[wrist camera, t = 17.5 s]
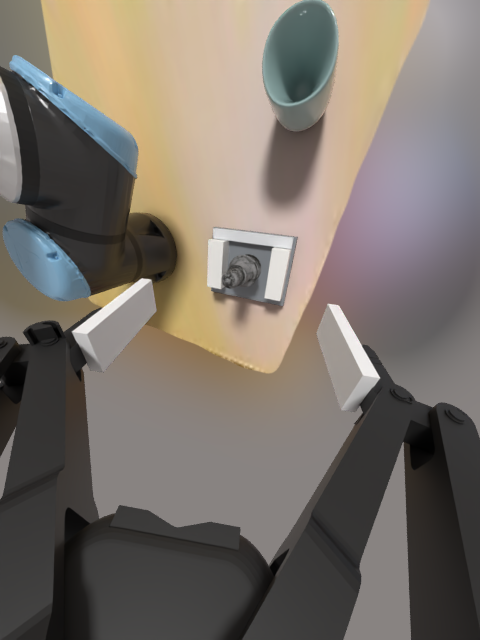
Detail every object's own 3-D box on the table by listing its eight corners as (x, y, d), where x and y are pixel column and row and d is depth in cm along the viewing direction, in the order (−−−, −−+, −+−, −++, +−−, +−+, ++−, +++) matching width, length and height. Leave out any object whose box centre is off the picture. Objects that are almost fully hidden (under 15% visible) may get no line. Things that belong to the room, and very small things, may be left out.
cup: (331, 131, 30) (337, 93, 21) (277, 146, 32) (264, 118, 24) (334, 56, 27) (342, -24, 18) (274, 79, 29) (257, 19, 21)
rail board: (214, 289, 47) (204, 295, 43) (216, 227, 41) (206, 227, 37) (283, 303, 43) (280, 311, 39) (297, 236, 37) (295, 238, 33)
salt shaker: (268, 260, 39) (250, 272, 28) (256, 287, 42) (236, 307, 31) (240, 247, 39) (213, 255, 29) (230, 275, 42) (203, 291, 32)
